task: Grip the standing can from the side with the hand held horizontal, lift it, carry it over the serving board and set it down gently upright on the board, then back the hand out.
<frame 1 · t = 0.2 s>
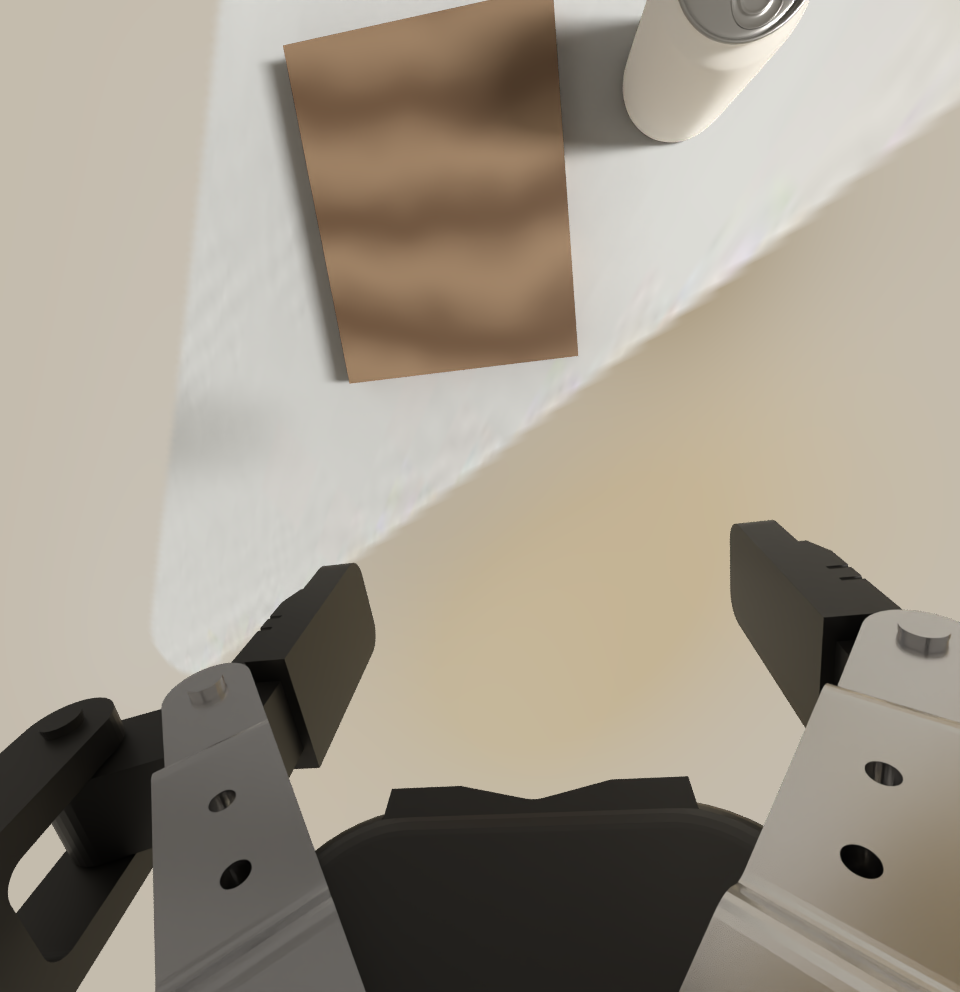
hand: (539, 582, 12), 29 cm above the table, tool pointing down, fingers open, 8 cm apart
can: (675, 84, 32), on the table
serving board: (444, 214, 36), on the table
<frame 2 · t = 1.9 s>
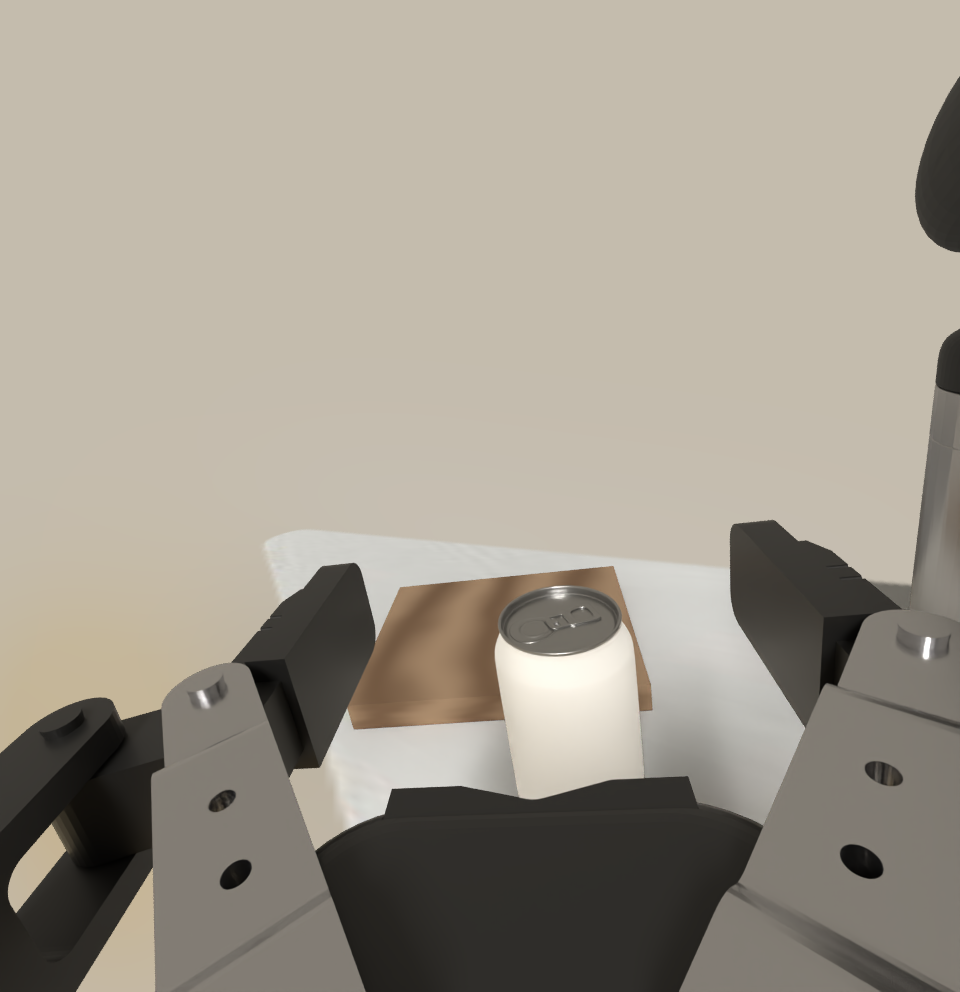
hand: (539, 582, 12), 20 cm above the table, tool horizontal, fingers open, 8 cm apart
can: (583, 813, 28), on the table
serving board: (503, 647, 43), on the table
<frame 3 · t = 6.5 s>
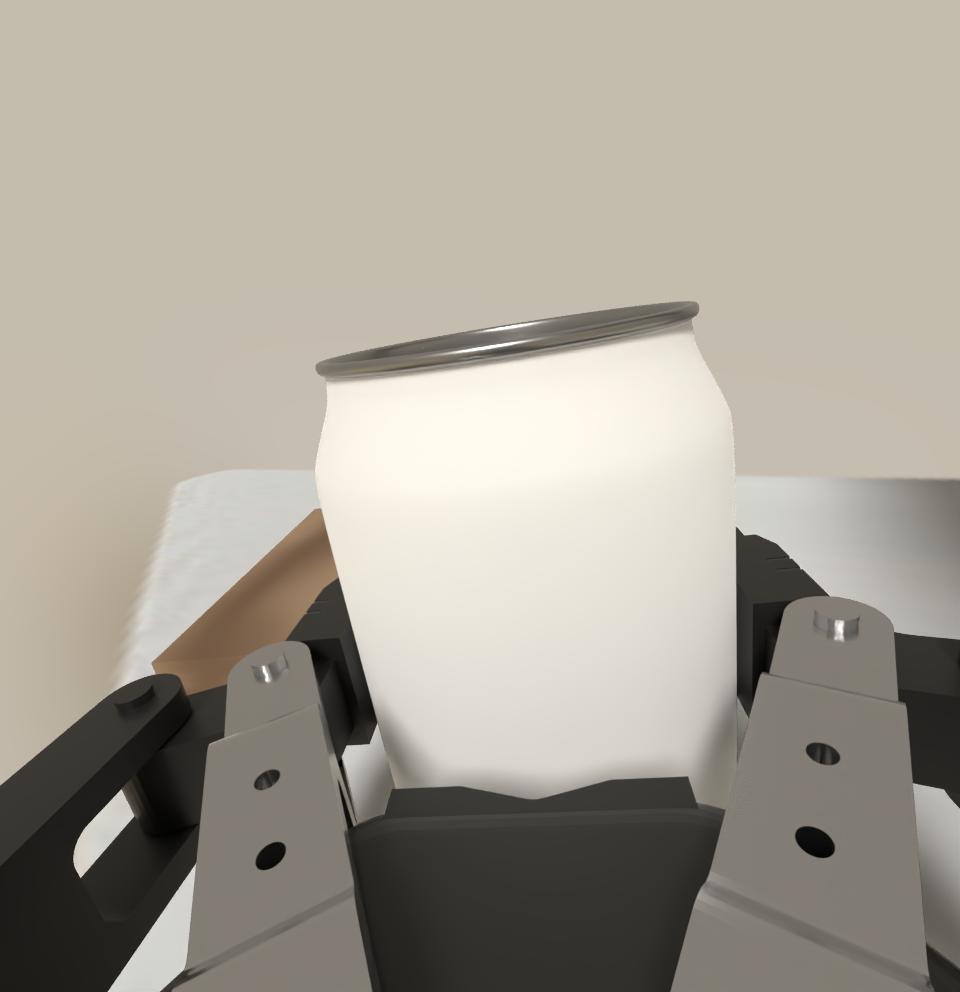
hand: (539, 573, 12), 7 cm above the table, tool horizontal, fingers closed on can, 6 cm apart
can: (578, 891, 12), on the table, touching gripper
serving board: (452, 581, 27), on the table
when the fingers open (10 cm above the table, at t = 12.5 s): can drops 1 cm, resting on serving board.
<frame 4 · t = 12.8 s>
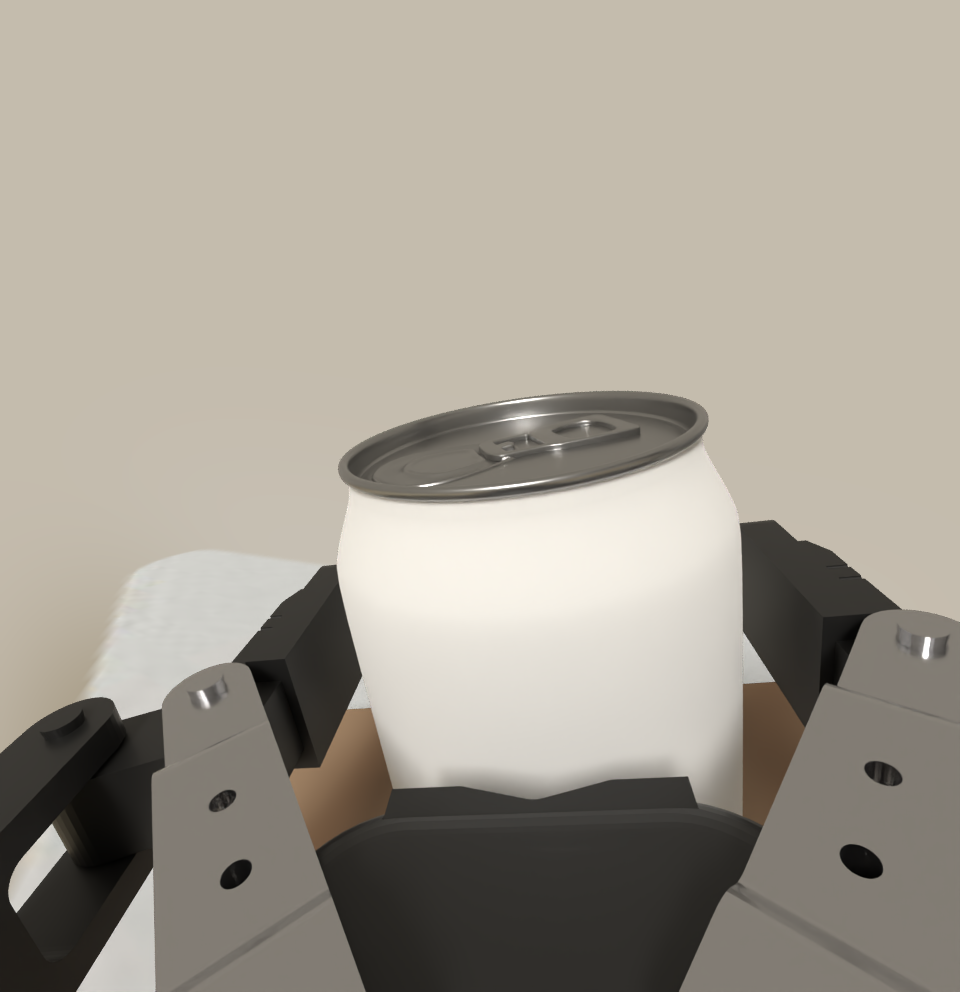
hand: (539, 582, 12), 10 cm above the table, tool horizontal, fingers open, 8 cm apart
can: (586, 942, 12), point 2 cm above the table, touching serving board
serving board: (590, 986, 13), on the table
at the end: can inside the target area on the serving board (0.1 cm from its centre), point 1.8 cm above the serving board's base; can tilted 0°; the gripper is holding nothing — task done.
